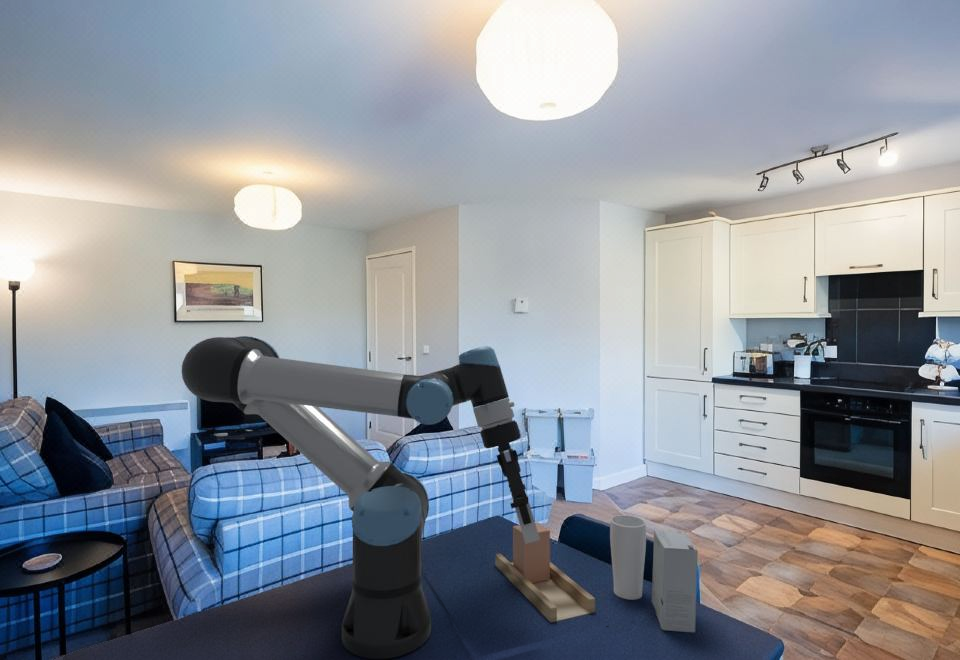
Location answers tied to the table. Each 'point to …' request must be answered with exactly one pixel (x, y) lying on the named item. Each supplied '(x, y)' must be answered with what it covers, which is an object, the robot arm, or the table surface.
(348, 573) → the table surface
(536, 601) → the shallow wooden tray
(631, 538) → the drinking glass
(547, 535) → the terracotta block
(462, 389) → the robot arm
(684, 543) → the skincare box
